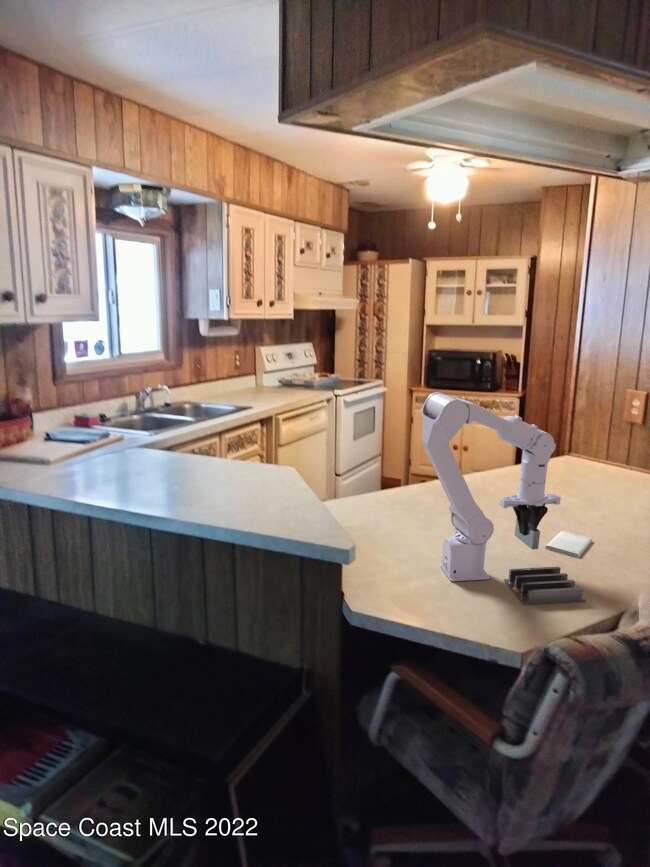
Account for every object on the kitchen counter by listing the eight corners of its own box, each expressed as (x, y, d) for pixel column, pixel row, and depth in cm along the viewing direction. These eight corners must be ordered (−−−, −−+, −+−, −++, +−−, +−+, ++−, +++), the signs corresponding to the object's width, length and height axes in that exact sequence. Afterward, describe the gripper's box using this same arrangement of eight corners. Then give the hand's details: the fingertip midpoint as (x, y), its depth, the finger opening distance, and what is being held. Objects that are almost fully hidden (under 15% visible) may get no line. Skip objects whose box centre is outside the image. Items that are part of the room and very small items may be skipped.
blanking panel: (538, 548, 142) (540, 531, 141) (531, 549, 142) (534, 531, 141) (520, 534, 150) (522, 517, 149) (514, 535, 149) (516, 518, 148)
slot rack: (524, 604, 130) (525, 592, 129) (504, 581, 140) (505, 569, 139) (585, 601, 132) (587, 588, 131) (561, 578, 142) (563, 566, 141)
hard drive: (578, 554, 151) (592, 537, 161) (545, 545, 156) (560, 529, 166) (577, 560, 152) (591, 543, 161) (544, 551, 157) (560, 535, 166)
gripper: (512, 487, 137) (507, 542, 140) (570, 483, 140) (563, 538, 143) (497, 477, 143) (492, 530, 147) (553, 473, 146) (547, 526, 150)
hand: (526, 533), depth 145 cm, fingers closed on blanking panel, 2 cm apart
